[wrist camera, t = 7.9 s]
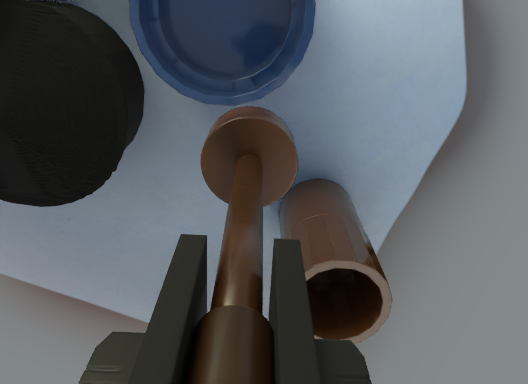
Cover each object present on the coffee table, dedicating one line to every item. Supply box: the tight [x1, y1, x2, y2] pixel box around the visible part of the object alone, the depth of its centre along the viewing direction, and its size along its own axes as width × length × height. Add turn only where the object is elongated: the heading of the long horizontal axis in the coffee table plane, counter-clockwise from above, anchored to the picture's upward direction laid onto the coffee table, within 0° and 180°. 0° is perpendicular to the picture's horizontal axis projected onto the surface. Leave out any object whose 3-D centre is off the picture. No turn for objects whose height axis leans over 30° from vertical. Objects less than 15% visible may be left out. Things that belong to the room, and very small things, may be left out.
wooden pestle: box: [183, 106, 298, 384], centre depth 15 cm, size 5×5×22 cm
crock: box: [279, 179, 392, 344], centre depth 43 cm, size 9×9×17 cm
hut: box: [0, 0, 144, 207], centre depth 39 cm, size 18×18×15 cm
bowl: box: [129, 0, 316, 106], centre depth 40 cm, size 16×16×6 cm
